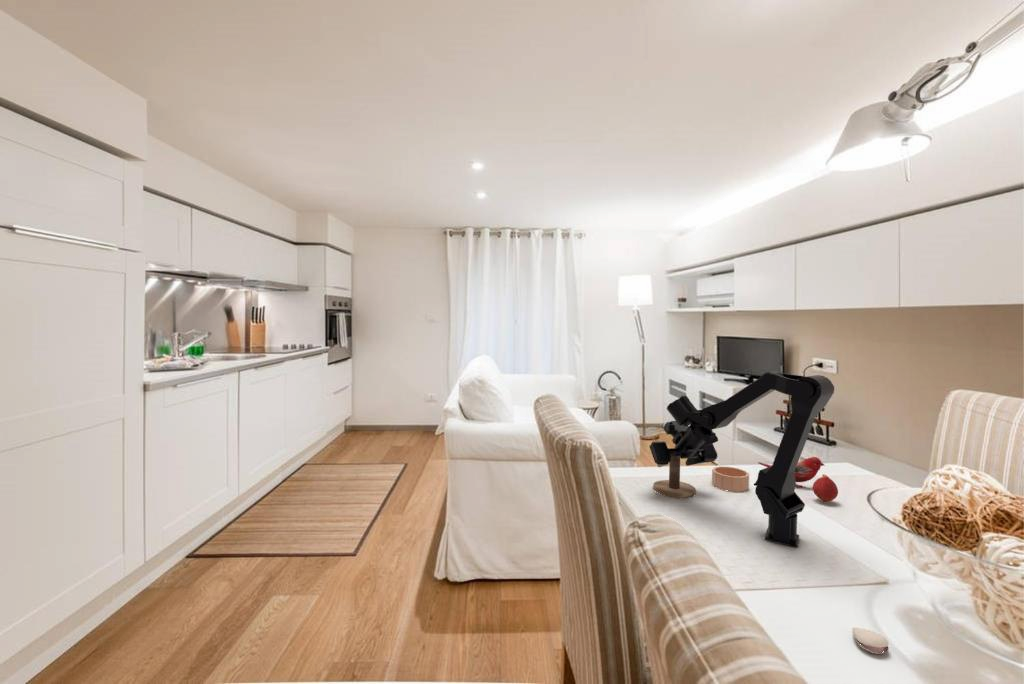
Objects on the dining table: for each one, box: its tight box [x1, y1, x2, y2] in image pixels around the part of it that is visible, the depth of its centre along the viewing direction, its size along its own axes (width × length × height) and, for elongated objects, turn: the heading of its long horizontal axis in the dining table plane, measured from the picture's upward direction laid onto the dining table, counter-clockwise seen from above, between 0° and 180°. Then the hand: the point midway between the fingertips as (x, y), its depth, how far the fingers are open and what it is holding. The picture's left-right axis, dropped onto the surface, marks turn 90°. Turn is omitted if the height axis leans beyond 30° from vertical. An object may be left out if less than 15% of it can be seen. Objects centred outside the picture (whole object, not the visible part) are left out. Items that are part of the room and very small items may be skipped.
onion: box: [812, 473, 839, 503], centre depth 127 cm, size 6×6×8 cm
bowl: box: [711, 465, 750, 493], centre depth 139 cm, size 10×10×4 cm
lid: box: [652, 457, 697, 499], centre depth 135 cm, size 12×12×11 cm
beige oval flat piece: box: [851, 627, 890, 655], centre depth 71 cm, size 4×5×2 cm
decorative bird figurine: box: [757, 456, 825, 488], centre depth 139 cm, size 3×18×10 cm, turn 64°
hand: (672, 465), depth 136 cm, fingers open, 9 cm apart
